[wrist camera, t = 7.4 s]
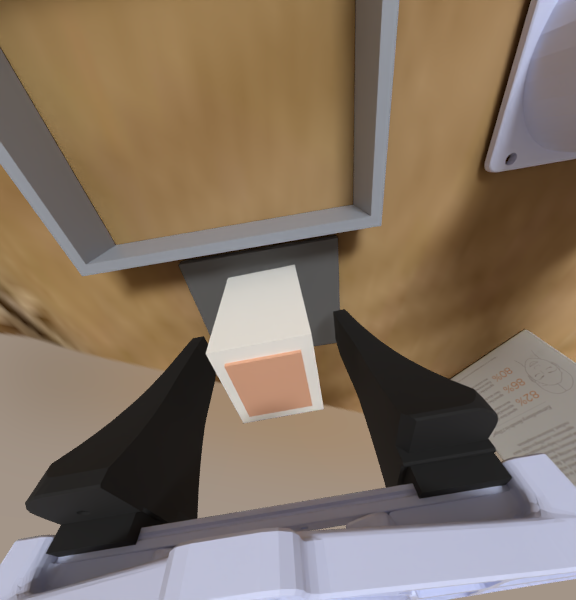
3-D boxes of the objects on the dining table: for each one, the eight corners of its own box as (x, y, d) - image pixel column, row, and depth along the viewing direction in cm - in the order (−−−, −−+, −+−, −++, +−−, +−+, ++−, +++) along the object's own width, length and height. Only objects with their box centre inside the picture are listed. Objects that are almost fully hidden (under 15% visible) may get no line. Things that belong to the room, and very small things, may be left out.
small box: (472, 398, 24) (590, 542, 15) (441, 381, 22) (557, 537, 13) (553, 351, 21) (763, 500, 12) (526, 326, 19) (755, 484, 10)
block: (294, 264, 13) (312, 336, 8) (306, 328, 16) (324, 412, 11) (227, 277, 14) (204, 356, 8) (250, 339, 16) (243, 426, 11)
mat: (335, 235, 13) (337, 238, 13) (338, 337, 18) (340, 342, 17) (181, 261, 13) (178, 264, 13) (222, 356, 18) (221, 361, 17)
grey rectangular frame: (378, -267, 6) (438, -489, 4) (362, 212, 13) (381, 225, 11) (-143, -162, 6) (-352, -319, 4) (112, 255, 13) (82, 276, 11)
